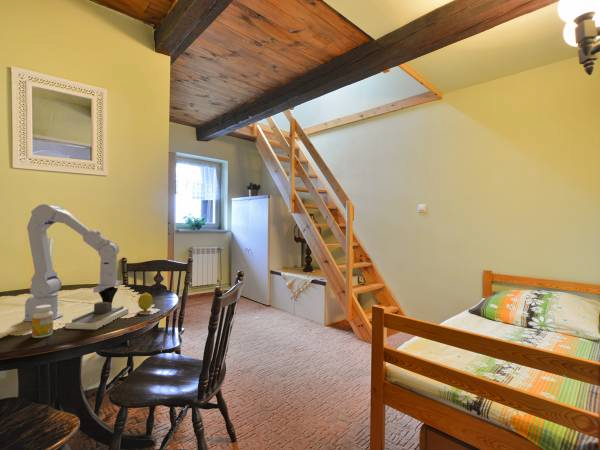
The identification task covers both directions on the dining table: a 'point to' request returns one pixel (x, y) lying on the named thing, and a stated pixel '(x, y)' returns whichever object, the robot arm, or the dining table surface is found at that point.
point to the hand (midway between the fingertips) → (107, 306)
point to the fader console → (96, 319)
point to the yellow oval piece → (145, 301)
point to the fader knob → (102, 307)
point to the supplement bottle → (42, 321)
